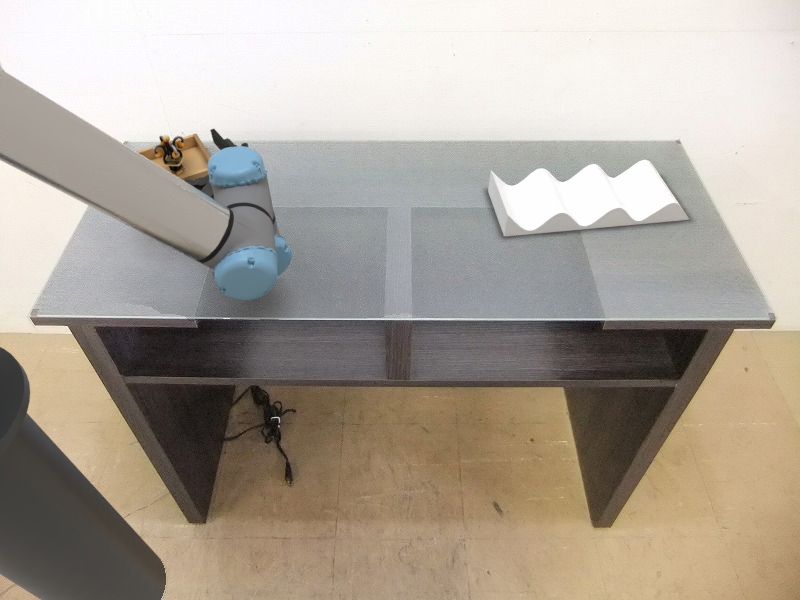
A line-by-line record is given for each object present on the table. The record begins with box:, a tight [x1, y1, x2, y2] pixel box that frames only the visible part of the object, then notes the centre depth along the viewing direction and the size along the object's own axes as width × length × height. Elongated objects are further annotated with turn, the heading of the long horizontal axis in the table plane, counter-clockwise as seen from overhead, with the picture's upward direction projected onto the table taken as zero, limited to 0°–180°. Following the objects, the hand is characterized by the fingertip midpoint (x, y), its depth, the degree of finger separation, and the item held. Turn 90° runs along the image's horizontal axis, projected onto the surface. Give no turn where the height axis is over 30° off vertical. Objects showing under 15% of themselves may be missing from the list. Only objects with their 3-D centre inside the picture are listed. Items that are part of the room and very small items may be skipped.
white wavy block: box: [487, 159, 690, 237], centre depth 111 cm, size 13×35×5 cm, turn 97°
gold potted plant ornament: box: [153, 134, 185, 174], centre depth 117 cm, size 5×5×8 cm
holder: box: [135, 133, 212, 180], centre depth 120 cm, size 14×14×3 cm
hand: (178, 147), depth 108 cm, fingers open, 13 cm apart
